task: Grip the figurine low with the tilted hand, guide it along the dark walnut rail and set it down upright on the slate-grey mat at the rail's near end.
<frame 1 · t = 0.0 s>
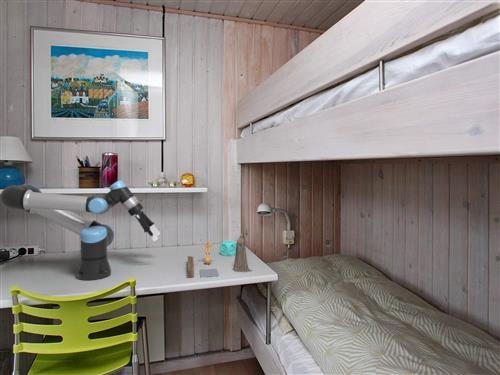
hand: (157, 237, 179), 15 cm above the table, tool tilted 35°, fingers open, 13 cm apart
decorative dice: (228, 255, 204), on the table
wizard figurine: (242, 270, 172), on the table
walnut rail: (190, 269, 172), on the table
figurine: (207, 263, 183), on the table
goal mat: (208, 273, 166), on the table
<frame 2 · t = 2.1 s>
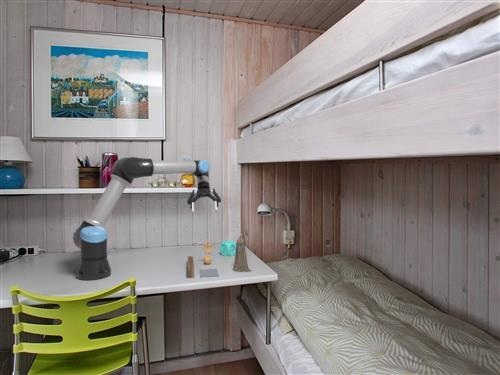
hand: (204, 211, 194), 28 cm above the table, tool tilted 45°, fingers open, 13 cm apart
nothing on the table moved.
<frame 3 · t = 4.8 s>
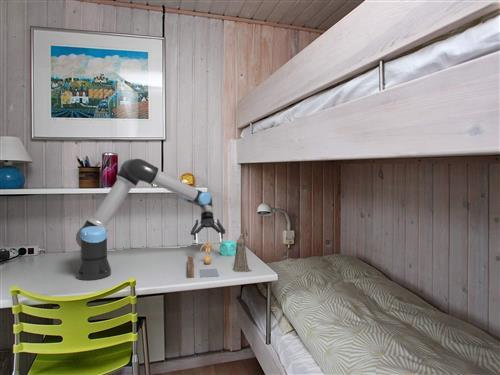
hand: (208, 243, 188), 10 cm above the table, tool tilted 45°, fingers open, 13 cm apart
nothing on the table moved.
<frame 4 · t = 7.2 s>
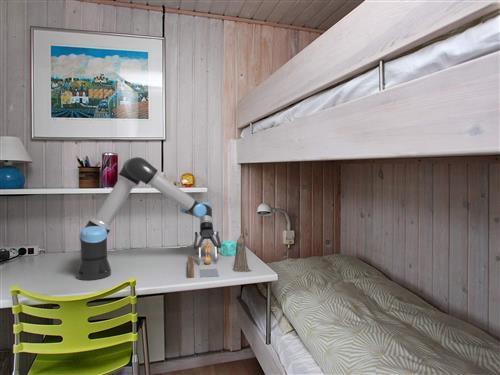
hand: (208, 258, 180), 4 cm above the table, tool tilted 45°, fingers closed on figurine, 8 cm apart
figurine: (207, 263, 183), on the table, touching gripper
everything else where it was.
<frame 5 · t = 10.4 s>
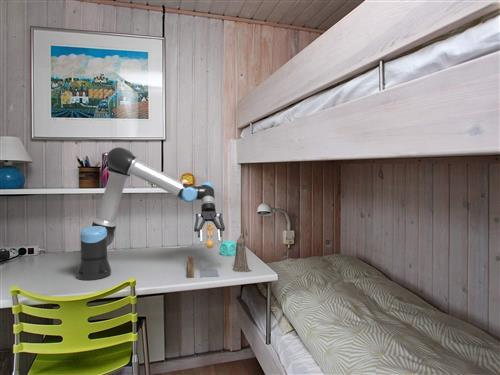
hand: (210, 242, 162), 16 cm above the table, tool tilted 45°, fingers closed on figurine, 8 cm apart
figurine: (209, 248, 165), point 13 cm above the table, touching gripper
everything else where it was.
when the fingers open (4 cm above the table, at t = 13.9 s): figurine stays where it is, resting on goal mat.
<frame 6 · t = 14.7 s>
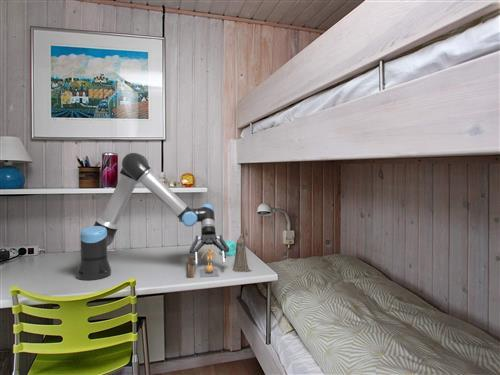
hand: (210, 264, 163), 5 cm above the table, tool tilted 45°, fingers open, 13 cm apart
figurine: (209, 272, 166), resting on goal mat
everything else where it was.
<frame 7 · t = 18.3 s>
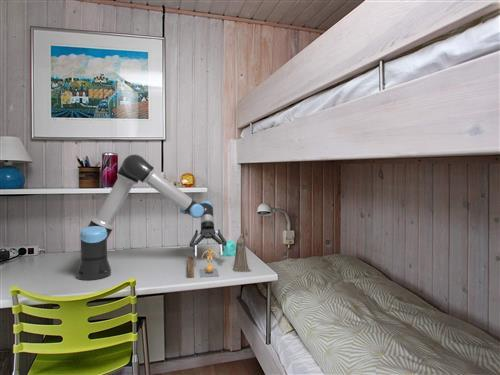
hand: (208, 256, 175), 6 cm above the table, tool tilted 45°, fingers open, 13 cm apart
nothing on the table moved.
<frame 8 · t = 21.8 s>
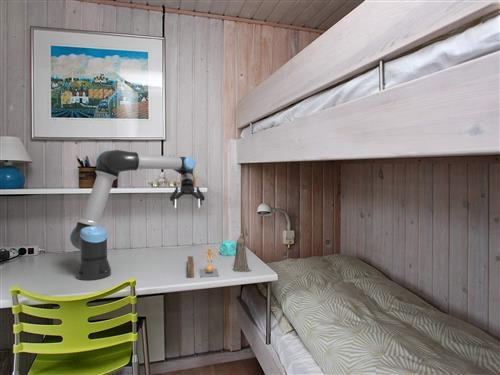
hand: (187, 208, 191), 30 cm above the table, tool tilted 45°, fingers open, 13 cm apart
nothing on the table moved.
at the end: figurine inside the target area on the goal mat (0.4 cm from its centre), point 0.1 cm above the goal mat's base; figurine tilted 0°; the gripper is holding nothing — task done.
